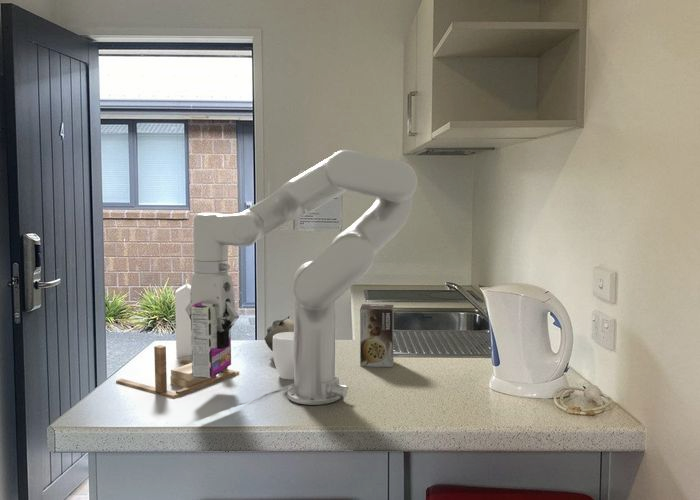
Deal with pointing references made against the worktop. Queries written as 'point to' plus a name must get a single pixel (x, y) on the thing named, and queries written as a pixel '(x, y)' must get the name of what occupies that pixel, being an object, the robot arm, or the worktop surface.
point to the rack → (162, 377)
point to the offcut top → (183, 373)
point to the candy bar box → (207, 342)
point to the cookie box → (376, 335)
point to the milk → (183, 321)
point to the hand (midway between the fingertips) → (211, 344)
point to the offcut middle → (186, 382)
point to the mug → (284, 354)
